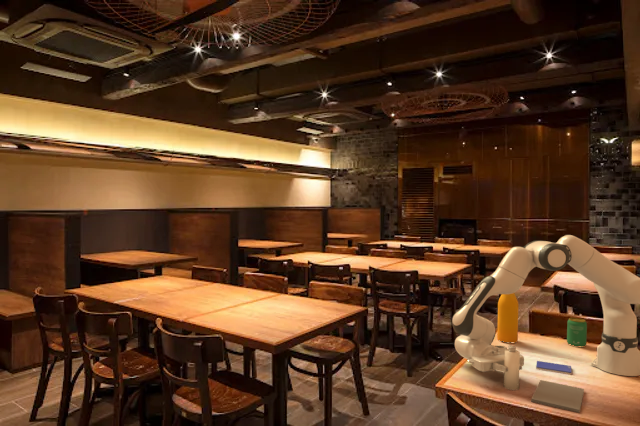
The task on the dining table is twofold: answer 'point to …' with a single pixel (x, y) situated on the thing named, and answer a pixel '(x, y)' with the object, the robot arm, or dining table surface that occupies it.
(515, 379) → the salt mill
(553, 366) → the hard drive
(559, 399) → the slate board
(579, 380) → the dining table surface
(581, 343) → the beverage can
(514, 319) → the beer bottle
